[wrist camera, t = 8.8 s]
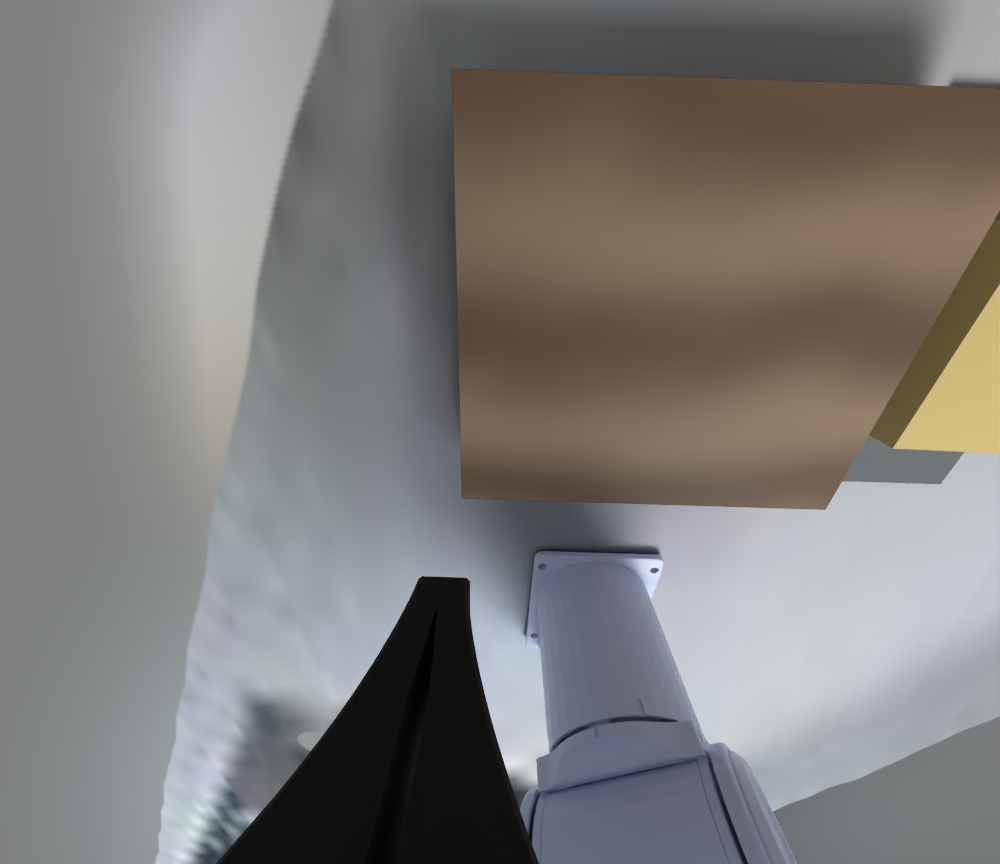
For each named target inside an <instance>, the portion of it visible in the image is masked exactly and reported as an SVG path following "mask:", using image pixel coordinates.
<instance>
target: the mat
mask: <svg viewBox="0 0 1000 864" xmlns="http://www.w3.org/2000/svg"><path fill="white" fill-rule="evenodd" d="M995 220H1000V211H999V213H998V215H997V216H996V218H995ZM963 453H964V452H957V451H935V450H913V449H893V448H891V447H889V446H887V445H886V444H884V443H882V442H880V441H879V440H877V439H875V438H873V437H872V436H870V435H869V436H868V437H867V439H866V441H865V443H864V444H863V446H862V448H861V449H860V451H859V453H858V455H857V456H856V458H855V460H854V461H853V463H852V465H851V467H850V468H849V470H848V472H847V473H846V475H845V477H844V479H843V480H842V481H861V482H892V483H923V484H941V483H942V481H943V480H944V478H945V477H946V476H947V474H948V473H949V472H950V470H951V469H952V468H953V466H954V465H955V464H956V462H957V461H958V460H959V458H960V457H961V456H962V454H963Z"/></svg>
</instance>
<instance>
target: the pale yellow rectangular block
mask: <svg viewBox="0 0 1000 864" xmlns="http://www.w3.org/2000/svg"><path fill="white" fill-rule="evenodd" d="M869 435H870V436H872V437H873V438H875V439H877V440H879V441H880V442H882V443H884V444H886V445H887V446H889V447H891V448H893V449H913V450H935V451H957V452H979V453H1000V220H994V222H993V223H992V225H991V227H990V228H989V230H988V232H987V234H986V235H985V237H984V239H983V240H982V242H981V244H980V246H979V247H978V249H977V251H976V252H975V254H974V256H973V258H972V259H971V261H970V263H969V264H968V266H967V268H966V270H965V271H964V273H963V275H962V276H961V278H960V280H959V282H958V283H957V285H956V287H955V288H954V290H953V292H952V294H951V295H950V297H949V299H948V300H947V302H946V304H945V306H944V307H943V309H942V311H941V312H940V314H939V316H938V318H937V319H936V321H935V323H934V324H933V326H932V328H931V330H930V331H929V333H928V335H927V336H926V338H925V340H924V342H923V343H922V345H921V347H920V348H919V350H918V352H917V353H916V355H915V357H914V359H913V360H912V362H911V364H910V365H909V367H908V369H907V371H906V372H905V374H904V376H903V377H902V379H901V381H900V383H899V384H898V386H897V388H896V389H895V391H894V393H893V395H892V396H891V398H890V400H889V401H888V403H887V405H886V407H885V408H884V410H883V412H882V413H881V415H880V417H879V419H878V420H877V422H876V424H875V425H874V427H873V429H872V431H871V432H870V434H869Z"/></svg>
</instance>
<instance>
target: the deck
mask: <svg viewBox="0 0 1000 864" xmlns="http://www.w3.org/2000/svg"><path fill="white" fill-rule="evenodd" d="M452 102H453V143H454V184H455V225H456V267H457V308H458V349H459V390H460V432H461V473H462V498H471V499H503V500H535V501H566V502H598V503H629V504H661V505H693V506H724V507H756V508H788V509H819V510H825V509H826V508H827V506H828V504H829V503H830V501H831V499H832V497H833V496H834V494H835V492H836V491H837V489H838V487H839V485H840V484H841V482H842V480H843V479H844V477H845V475H846V473H847V472H848V470H849V468H850V467H851V465H852V463H853V461H854V460H855V458H856V456H857V455H858V453H859V451H860V449H861V448H862V446H863V444H864V443H865V441H866V439H867V437H868V436H869V434H870V432H871V431H872V429H873V427H874V425H875V424H876V422H877V420H878V419H879V417H880V415H881V413H882V412H883V410H884V408H885V407H886V405H887V403H888V401H889V400H890V398H891V396H892V395H893V393H894V391H895V389H896V388H897V386H898V384H899V383H900V381H901V379H902V377H903V376H904V374H905V372H906V371H907V369H908V367H909V365H910V364H911V362H912V360H913V359H914V357H915V355H916V353H917V352H918V350H919V348H920V347H921V345H922V343H923V342H924V340H925V338H926V336H927V335H928V333H929V331H930V330H931V328H932V326H933V324H934V323H935V321H936V319H937V318H938V316H939V314H940V312H941V311H942V309H943V307H944V306H945V304H946V302H947V300H948V299H949V297H950V295H951V294H952V292H953V290H954V288H955V287H956V285H957V283H958V282H959V280H960V278H961V276H962V275H963V273H964V271H965V270H966V268H967V266H968V264H969V263H970V261H971V259H972V258H973V256H974V254H975V252H976V251H977V249H978V247H979V246H980V244H981V242H982V240H983V239H984V237H985V235H986V234H987V232H988V230H989V228H990V227H991V225H992V223H993V222H994V220H995V218H996V216H997V215H998V213H999V211H1000V88H976V87H948V86H920V85H892V84H865V83H837V82H809V81H781V80H753V79H725V78H697V77H669V76H641V75H613V74H585V73H557V72H529V71H502V70H474V69H452Z"/></svg>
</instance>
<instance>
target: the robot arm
mask: <svg viewBox="0 0 1000 864" xmlns="http://www.w3.org/2000/svg"><path fill="white" fill-rule="evenodd" d="M540 564H544V565H540ZM663 566H664V561H663V559H662V557H661V556H660V555H652V554H620V553H588V552H556V551H540V552H538V553H536V554H535V557H534V566H533V576H532V585H531V595H530V605H529V614H528V624H527V633H526V645H527V646H528V647H531V648H540V651H541V663H542V676H543V688H544V700H545V712H546V725H547V735H548V741H549V754H547V755H545V756H542V757H539V758H537V776H538V785H535V786H534V787H532V788H531V789H530V790H529V791H528V792H527V794H526V795H525V797H524V800H523V802H522V804H521V808H520V809H519V806H518V804H517V801H516V798H515V795H514V792H513V789H512V786H511V783H510V780H509V777H508V774H507V771H506V768H505V765H504V761H503V758H502V755H501V752H500V749H499V745H498V742H497V738H496V735H495V732H494V728H493V725H492V721H491V717H490V714H489V710H488V706H487V702H486V698H485V694H484V690H483V685H482V681H481V677H480V672H479V668H478V663H477V657H476V652H475V646H474V641H473V635H472V628H471V619H470V581H469V580H468V579H467V578H452V577H424V576H422V577H421V578H420V579H419V580H418V582H417V584H416V587H415V589H414V591H413V593H412V595H411V597H410V599H409V601H408V603H407V605H406V607H405V609H404V611H403V613H402V615H401V617H400V618H399V620H398V622H397V624H396V626H395V627H394V629H393V631H392V633H391V634H390V636H389V638H388V639H387V641H386V643H385V644H384V646H383V648H382V650H381V651H380V653H379V655H378V656H377V658H376V659H375V661H374V663H373V664H372V666H371V667H370V669H369V670H368V672H367V673H366V675H365V676H364V678H363V679H362V681H361V682H360V684H359V685H358V687H357V689H356V690H355V692H354V693H353V695H352V696H351V697H350V699H349V700H348V702H347V703H346V705H345V706H344V707H343V709H342V710H341V712H340V713H339V714H338V716H337V717H336V719H335V720H334V721H333V723H332V724H331V725H330V727H329V728H328V729H327V731H326V732H325V734H324V735H323V736H322V738H321V739H320V740H319V741H318V743H317V744H316V746H315V747H314V748H313V749H312V750H311V752H310V753H309V754H308V756H307V757H306V758H305V759H304V761H303V762H302V763H301V764H300V766H299V767H298V768H297V770H296V771H295V772H294V773H293V775H292V776H291V777H290V778H289V780H288V781H287V782H286V783H285V784H284V786H283V787H282V788H281V789H280V791H279V792H278V793H277V794H276V795H275V797H274V798H273V799H272V800H271V801H270V802H269V804H268V805H267V806H266V807H265V808H264V809H263V811H262V812H261V813H260V814H259V815H258V816H257V817H256V819H255V820H254V821H253V822H252V823H251V824H250V826H249V827H248V828H247V829H246V830H245V831H244V832H243V834H242V835H241V836H240V837H239V838H238V839H237V841H236V842H235V843H234V844H233V845H232V846H231V848H230V849H229V850H228V851H227V852H226V853H225V854H224V855H223V857H222V858H221V859H220V860H219V861H218V862H217V863H216V864H797V863H796V860H795V858H794V856H793V853H792V851H791V849H790V847H789V845H788V843H787V841H786V839H785V836H784V834H783V832H782V830H781V828H780V826H779V824H778V822H777V820H776V818H775V816H774V814H773V812H772V810H771V808H770V806H769V803H768V801H767V799H766V797H765V795H764V794H763V792H762V790H761V788H760V786H759V784H758V782H757V780H756V778H755V776H754V774H753V773H752V771H751V769H750V767H749V766H748V764H747V762H746V761H745V759H744V758H742V757H741V756H739V755H738V754H736V753H735V752H733V751H730V749H729V748H728V747H727V746H726V745H725V744H724V743H715V744H711V745H710V744H709V743H708V742H707V740H706V739H705V737H704V735H703V733H702V730H701V728H700V725H699V723H698V720H697V717H696V715H695V712H694V710H693V707H692V705H691V702H690V699H689V697H688V694H687V692H686V689H685V687H684V684H683V681H682V679H681V676H680V674H679V671H678V669H677V666H676V664H675V661H674V658H673V656H672V653H671V651H670V648H669V646H668V643H667V640H666V638H665V635H664V633H663V630H662V628H661V625H660V622H659V620H658V617H657V615H656V612H655V610H654V607H653V605H652V602H651V601H652V598H653V595H654V592H655V589H656V586H657V584H658V581H659V578H660V575H661V572H662V569H663Z"/></svg>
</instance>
